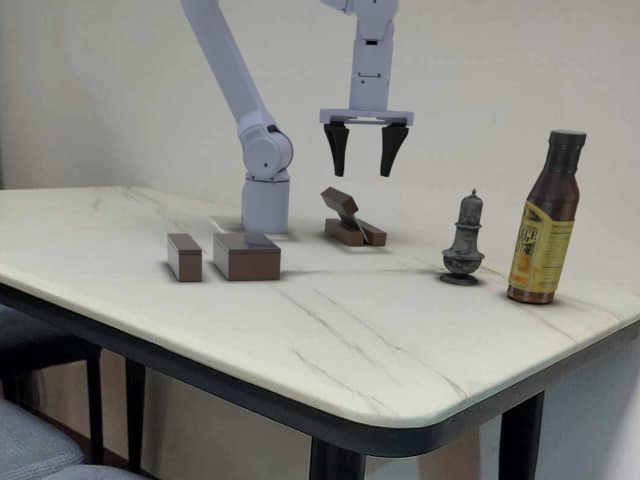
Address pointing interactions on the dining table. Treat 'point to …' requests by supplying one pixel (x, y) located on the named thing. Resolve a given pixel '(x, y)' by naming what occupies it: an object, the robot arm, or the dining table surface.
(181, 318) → the dining table surface
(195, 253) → the brown rectangular block
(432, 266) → the dining table surface
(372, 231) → the knife stand
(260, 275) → the brown lidded box
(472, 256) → the salt shaker
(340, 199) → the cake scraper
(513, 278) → the sauce bottle
